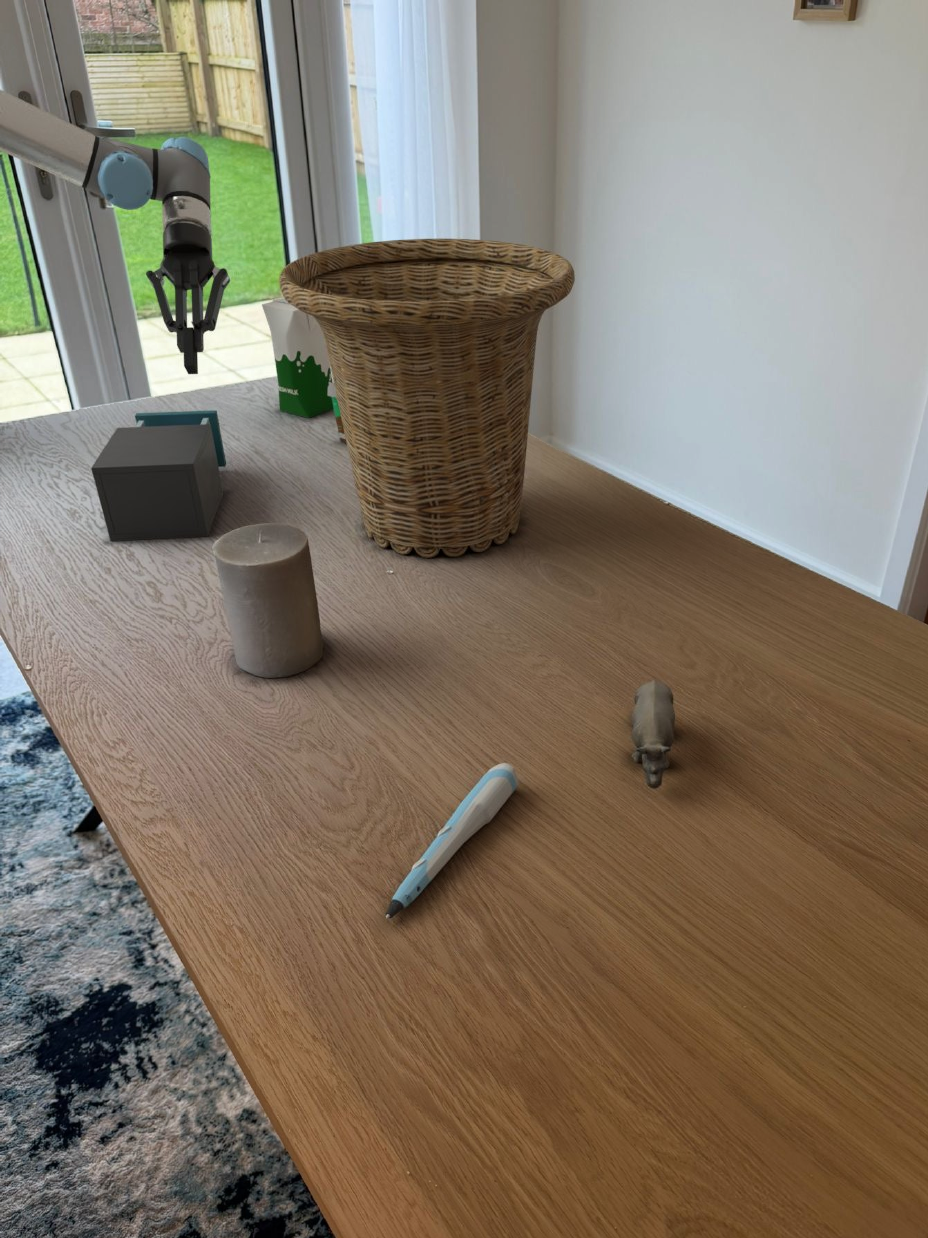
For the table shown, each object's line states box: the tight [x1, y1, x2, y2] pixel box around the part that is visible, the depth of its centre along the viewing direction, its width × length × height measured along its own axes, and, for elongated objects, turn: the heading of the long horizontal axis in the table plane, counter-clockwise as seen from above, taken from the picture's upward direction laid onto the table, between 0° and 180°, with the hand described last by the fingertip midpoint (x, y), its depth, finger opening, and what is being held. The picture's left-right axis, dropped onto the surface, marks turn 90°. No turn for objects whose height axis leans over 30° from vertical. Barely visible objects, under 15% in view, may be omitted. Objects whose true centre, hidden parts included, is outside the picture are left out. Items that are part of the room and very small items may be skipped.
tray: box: [134, 409, 227, 468], centre depth 150 cm, size 19×12×8 cm, turn 6°
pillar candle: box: [212, 522, 325, 679], centre depth 109 cm, size 10×10×15 cm
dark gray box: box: [90, 424, 224, 542], centre depth 140 cm, size 15×13×10 cm
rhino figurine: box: [630, 679, 676, 790], centre depth 95 cm, size 4×14×6 cm, turn 174°
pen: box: [385, 762, 519, 920], centre depth 86 cm, size 19×3×3 cm, turn 153°
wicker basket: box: [278, 238, 576, 559], centre depth 131 cm, size 35×35×33 cm
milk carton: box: [261, 297, 334, 419], centre depth 174 cm, size 9×9×20 cm
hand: (191, 369), depth 161 cm, fingers closed
